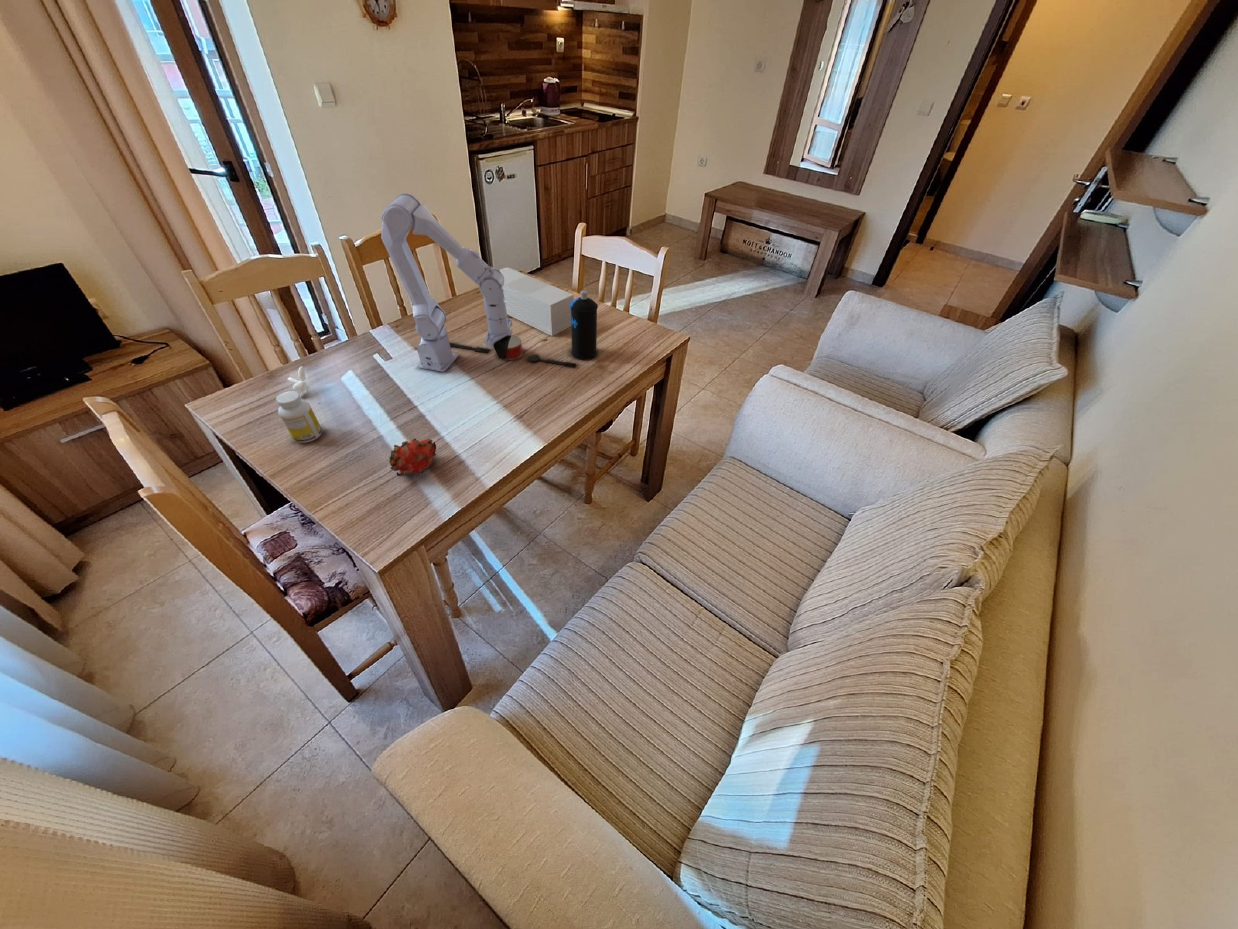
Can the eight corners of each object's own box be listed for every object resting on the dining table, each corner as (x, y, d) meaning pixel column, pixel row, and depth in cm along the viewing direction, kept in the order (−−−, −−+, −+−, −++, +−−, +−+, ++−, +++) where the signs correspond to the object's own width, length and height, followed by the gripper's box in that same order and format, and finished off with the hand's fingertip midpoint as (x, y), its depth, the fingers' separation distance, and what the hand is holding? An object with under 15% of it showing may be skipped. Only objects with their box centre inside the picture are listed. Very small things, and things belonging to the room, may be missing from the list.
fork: (487, 353, 147) (487, 352, 147) (442, 346, 149) (442, 345, 149) (490, 350, 149) (490, 348, 149) (446, 342, 151) (445, 341, 151)
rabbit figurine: (289, 400, 126) (281, 375, 128) (303, 404, 130) (295, 379, 132) (305, 389, 125) (297, 364, 127) (318, 393, 128) (310, 368, 130)
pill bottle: (315, 423, 120) (295, 385, 112) (328, 434, 117) (309, 396, 109) (288, 435, 116) (266, 397, 108) (301, 447, 113) (279, 408, 105)
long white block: (574, 324, 163) (573, 294, 156) (552, 336, 157) (550, 305, 149) (510, 296, 177) (507, 266, 169) (488, 305, 170) (483, 275, 163)
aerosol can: (598, 347, 153) (599, 286, 139) (595, 361, 147) (596, 299, 133) (573, 345, 153) (572, 284, 139) (568, 358, 147) (567, 296, 133)
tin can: (517, 361, 145) (515, 349, 142) (493, 357, 146) (491, 345, 143) (526, 349, 150) (525, 337, 147) (503, 345, 151) (501, 333, 148)
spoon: (573, 369, 143) (573, 367, 143) (526, 361, 145) (526, 359, 145) (577, 363, 146) (577, 361, 145) (530, 355, 148) (530, 353, 147)
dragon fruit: (392, 487, 108) (436, 464, 116) (409, 484, 102) (454, 460, 110) (373, 453, 106) (420, 432, 114) (389, 448, 100) (437, 426, 108)
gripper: (499, 329, 128) (505, 372, 137) (519, 306, 138) (524, 347, 148) (475, 325, 129) (482, 368, 138) (496, 302, 139) (502, 344, 149)
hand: (502, 357), depth 143 cm, fingers closed
